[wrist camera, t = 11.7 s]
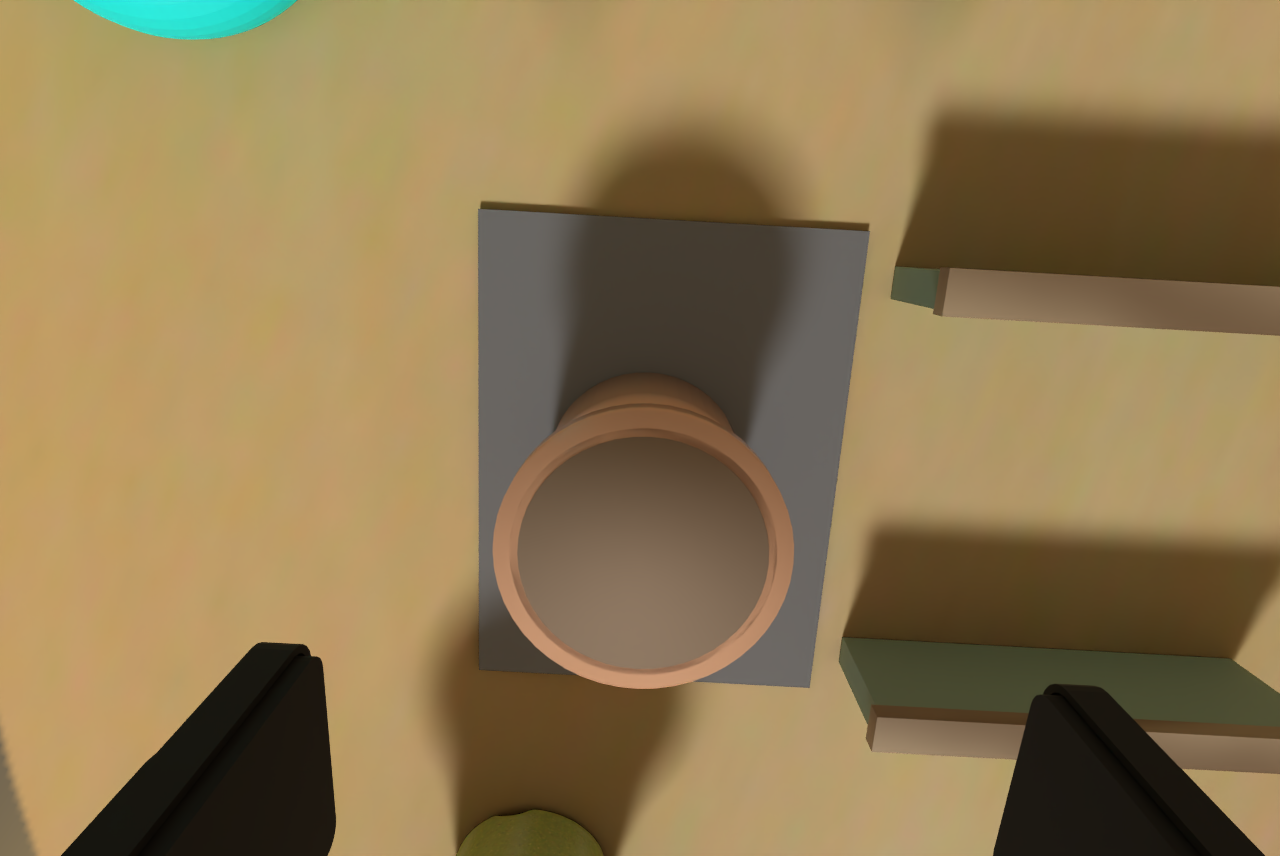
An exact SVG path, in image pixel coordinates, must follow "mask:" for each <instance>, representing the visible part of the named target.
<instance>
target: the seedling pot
mask: <svg viewBox="0 0 1280 856" xmlns="http://www.w3.org/2000/svg"><path fill="white" fill-rule="evenodd" d="M493 563H494V571H495V575H496V580H497V584H498V588H499V590H500V593H501V596H502V599H503V601H504V604H505V605H506V607H507V609H508V611H509V613H510V615H511V617H512V619H513V620H514V621H515V623H516V624H517V626H518V627H519V628H520V630H521V631H522V633H523V634H524V635H525V636H526V637H527V638H528V639H529V640H530V641H531V642H532V643H533V645H534V646H535V647H536V648H538V649H539V650H540V651H541V652H542V653H544V654H545V655H546V656H547V657H548V658H550V659H551V660H553V661H554V662H556V663H557V664H559V665H560V666H562V667H564V668H565V669H567V670H569V671H571V672H573V673H575V674H577V675H580V676H582V677H584V678H587V679H590V680H593V681H596V682H599V683H603V684H607V685H612V686H616V687H624V688H634V689H655V688H663V687H671V686H676V685H681V684H685V683H689V682H692V681H695V680H698V679H700V678H703V677H706V676H709V675H711V674H713V673H714V672H716V671H718V670H720V669H722V668H724V667H726V666H727V665H729V664H730V663H732V662H733V661H735V660H736V659H738V658H739V657H741V656H742V655H743V654H744V653H745V652H746V651H748V650H749V649H750V648H751V647H752V646H753V645H754V644H755V643H756V642H757V641H758V640H759V639H760V638H761V636H762V635H763V634H764V633H765V632H766V631H767V629H768V628H769V626H770V625H771V623H772V622H773V620H774V619H775V617H776V616H777V614H778V612H779V610H780V608H781V606H782V604H783V602H784V600H785V597H786V594H787V591H788V588H789V585H790V581H791V575H792V570H793V564H794V540H793V530H792V525H791V521H790V517H789V513H788V510H787V507H786V505H785V502H784V500H783V497H782V495H781V492H780V491H779V489H778V487H777V485H776V483H775V481H774V479H773V478H772V476H771V474H770V473H769V471H768V469H767V467H766V466H765V464H764V463H763V462H762V461H761V459H760V458H759V457H758V456H757V454H756V453H755V452H754V451H753V450H752V449H751V448H750V447H749V446H748V445H747V444H746V443H745V442H744V441H743V440H742V439H741V438H740V437H738V436H737V435H736V434H735V432H734V430H733V428H732V425H731V424H730V422H729V420H728V418H727V417H726V415H725V413H724V412H723V411H722V410H721V408H720V407H719V406H718V405H717V404H716V403H715V402H714V401H713V400H712V399H711V398H710V397H709V396H708V395H707V394H706V393H704V392H703V391H701V390H700V389H699V388H697V387H695V386H694V385H692V384H690V383H688V382H686V381H684V380H681V379H679V378H676V377H673V376H669V375H665V374H659V373H650V372H643V373H630V374H623V375H620V376H616V377H613V378H610V379H607V380H605V381H603V382H601V383H598V384H597V385H595V386H593V387H592V388H590V389H588V390H587V391H586V392H585V393H583V394H582V395H581V396H580V397H578V398H577V399H576V400H575V401H574V402H573V403H572V405H571V406H570V407H569V408H568V409H567V411H566V412H565V413H564V415H563V416H562V418H561V420H560V422H559V424H558V425H557V427H556V429H555V431H554V432H553V433H552V434H551V435H550V436H548V437H547V438H546V439H544V440H543V441H542V442H541V443H540V444H539V445H538V446H537V447H536V448H535V449H534V450H533V451H532V452H531V454H530V455H529V456H528V457H527V459H526V460H525V461H524V463H523V464H522V466H521V467H520V468H519V470H518V472H517V473H516V475H515V477H514V479H513V481H512V482H511V484H510V486H509V488H508V490H507V492H506V494H505V496H504V498H503V500H502V503H501V506H500V509H499V511H498V514H497V519H496V524H495V528H494V536H493Z"/></svg>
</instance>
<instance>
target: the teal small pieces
mask: <svg viewBox="0 0 1280 856" xmlns="http://www.w3.org/2000/svg"><path fill="white" fill-rule="evenodd" d="M74 1H75V2H77V3H78V4H80V5H81V6H83V7H85V8H86V9H88V10H90V11H92V12H93V13H95V14H97V15H99V16H101V17H103V18H105V19H108V20H110V21H112V22H115V23H117V24H120V25H122V26H125V27H127V28H130V29H133V30H136V31H139V32H142V33H146V34H150V35H154V36H160V37H165V38H174V39H213V38H221V37H226V36H231V35H235V34H239V33H242V32H245V31H248V30H251V29H253V28H256V27H258V26H260V25H262V24H264V23H266V22H268V21H270V20H271V19H273V18H275V17H276V16H278V15H279V14H281V13H282V12H284V11H285V10H286V9H288V8H289V7H290V6H291V5H293V4H294V3H295V2H296V1H297V0H74Z"/></svg>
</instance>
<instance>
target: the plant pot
mask: <svg viewBox="0 0 1280 856" xmlns="http://www.w3.org/2000/svg"><path fill="white" fill-rule="evenodd" d="M456 856H603V853H602V850H601V847H600V846H599V844H598V843H597V841H596V840H595V839H594V838H593V836H592V835H591V834H590V833H589V832H588V831H586V830H585V829H584V828H583V827H581V826H580V825H579V824H577V823H576V822H574V821H572V820H570V819H568V818H566V817H564V816H561V815H558V814H555V813H552V812H548V811H542V810H530V811H527V812H524V813H521V814H517V815H510V816H493V817H491V818H489V819H487V820H485V821H484V822H482V823H481V824H479V825H478V826H477V827H475V828H474V829H473V830H472V831H471V832H470V833H469V834H468V836H467V837H466V838H465V840H464V841H463V843H462V845H461V846H460V848H459V850H458V852H457V854H456Z"/></svg>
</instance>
